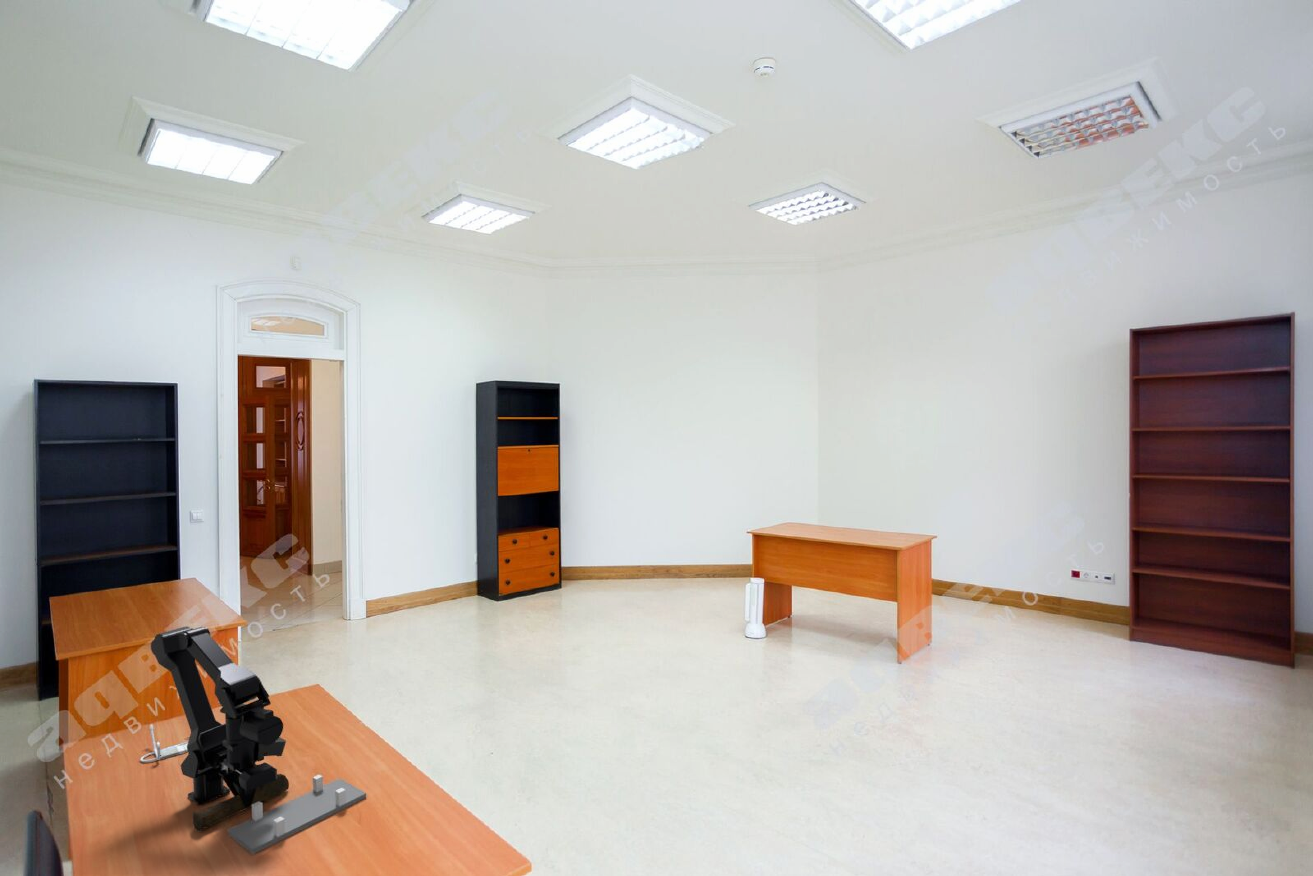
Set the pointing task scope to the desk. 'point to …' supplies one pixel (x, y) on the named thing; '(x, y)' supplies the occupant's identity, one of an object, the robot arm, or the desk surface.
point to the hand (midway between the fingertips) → (244, 804)
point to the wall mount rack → (164, 752)
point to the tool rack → (294, 814)
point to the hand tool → (239, 803)
